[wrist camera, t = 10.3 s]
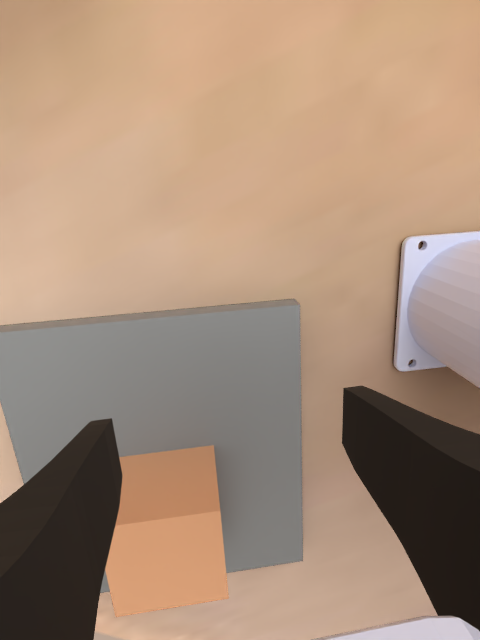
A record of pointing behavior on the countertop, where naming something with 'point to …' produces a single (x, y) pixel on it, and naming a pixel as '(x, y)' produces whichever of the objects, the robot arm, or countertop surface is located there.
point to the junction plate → (175, 405)
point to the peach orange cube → (167, 533)
